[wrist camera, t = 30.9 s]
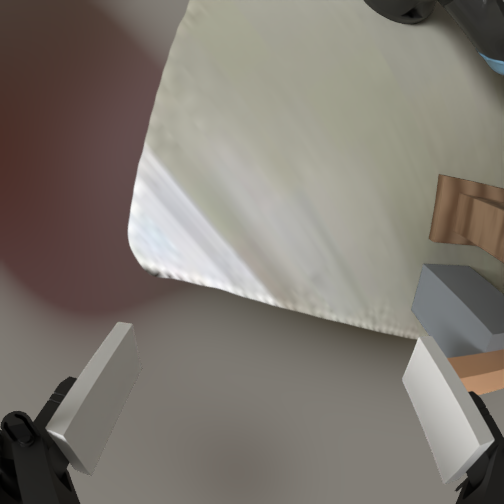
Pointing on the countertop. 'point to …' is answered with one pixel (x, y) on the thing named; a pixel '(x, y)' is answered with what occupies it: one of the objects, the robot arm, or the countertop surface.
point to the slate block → (459, 310)
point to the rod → (480, 371)
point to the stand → (469, 215)
